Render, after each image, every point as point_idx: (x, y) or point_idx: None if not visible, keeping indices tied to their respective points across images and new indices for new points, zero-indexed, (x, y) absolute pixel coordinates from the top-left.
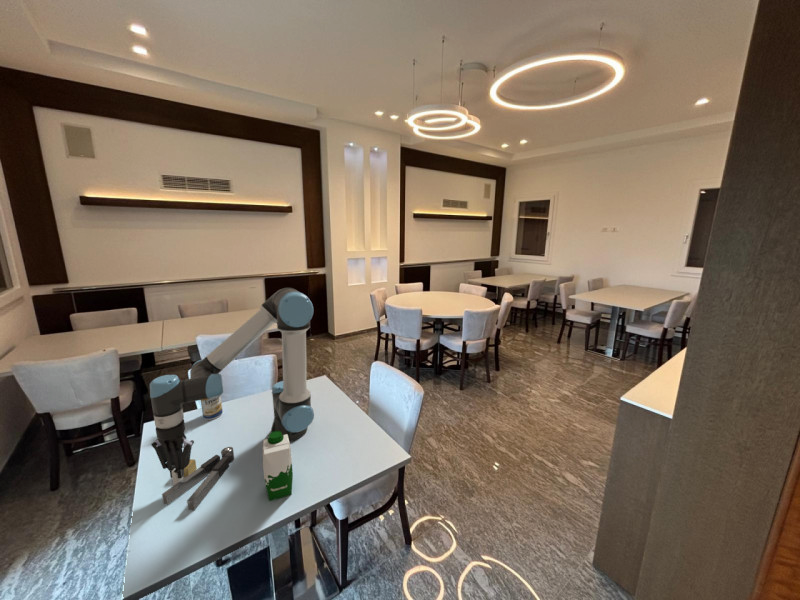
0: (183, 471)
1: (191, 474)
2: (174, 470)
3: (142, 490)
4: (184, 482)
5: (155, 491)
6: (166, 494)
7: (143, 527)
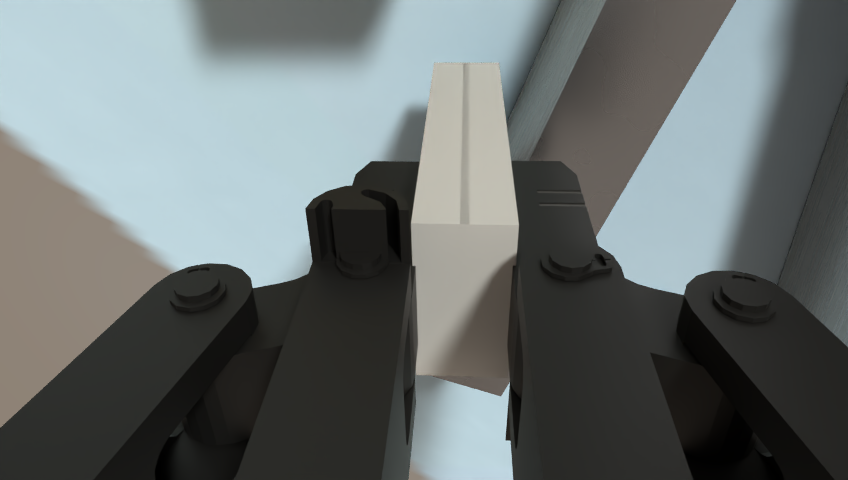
0: (583, 218)
1: (627, 27)
2: (459, 350)
3: (15, 135)
4: (608, 207)
5: (187, 143)
6: (489, 380)
7: (452, 465)
